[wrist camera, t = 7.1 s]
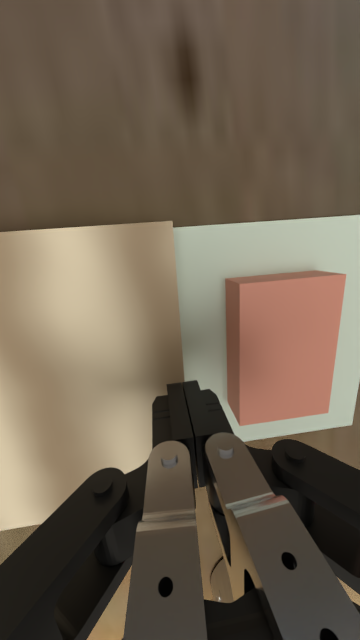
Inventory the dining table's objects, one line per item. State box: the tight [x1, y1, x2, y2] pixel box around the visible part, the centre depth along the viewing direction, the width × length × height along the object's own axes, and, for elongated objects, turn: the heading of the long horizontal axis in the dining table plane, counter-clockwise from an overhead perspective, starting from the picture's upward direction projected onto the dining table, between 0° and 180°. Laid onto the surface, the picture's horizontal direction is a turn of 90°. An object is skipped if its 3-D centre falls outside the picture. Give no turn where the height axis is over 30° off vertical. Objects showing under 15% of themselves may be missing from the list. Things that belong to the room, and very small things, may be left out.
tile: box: [225, 270, 346, 426], centre depth 15 cm, size 6×9×2 cm, turn 4°
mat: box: [173, 215, 360, 442], centre depth 17 cm, size 14×16×1 cm
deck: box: [0, 221, 185, 531], centre depth 14 cm, size 14×16×4 cm
